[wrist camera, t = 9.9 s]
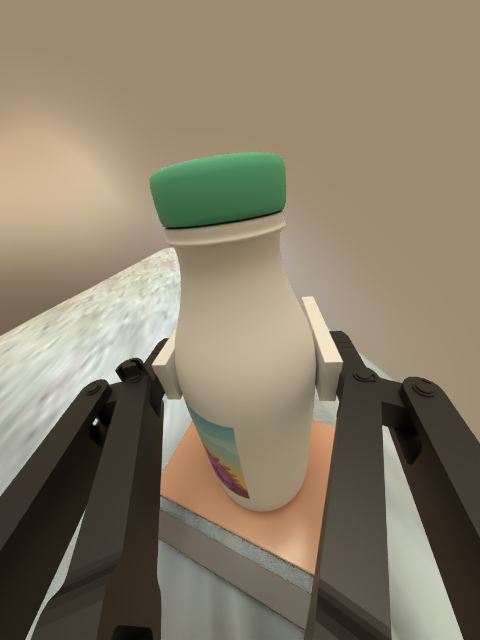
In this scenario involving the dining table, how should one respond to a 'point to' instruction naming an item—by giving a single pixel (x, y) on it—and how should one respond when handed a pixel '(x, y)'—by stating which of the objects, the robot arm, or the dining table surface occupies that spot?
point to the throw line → (237, 570)
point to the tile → (255, 527)
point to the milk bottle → (240, 324)
